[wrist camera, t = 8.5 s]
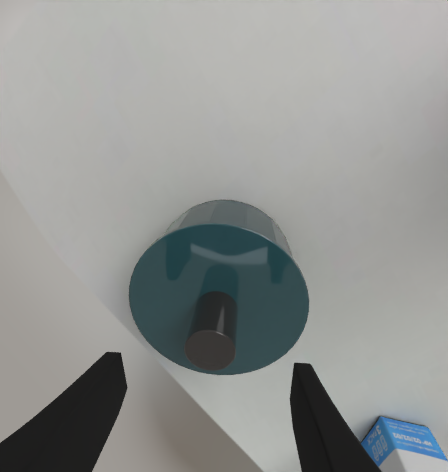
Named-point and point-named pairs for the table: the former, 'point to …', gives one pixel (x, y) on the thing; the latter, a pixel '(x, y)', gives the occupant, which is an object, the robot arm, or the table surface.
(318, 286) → the table surface
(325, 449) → the robot arm
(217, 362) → the tin lid
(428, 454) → the ink box
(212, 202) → the tin
